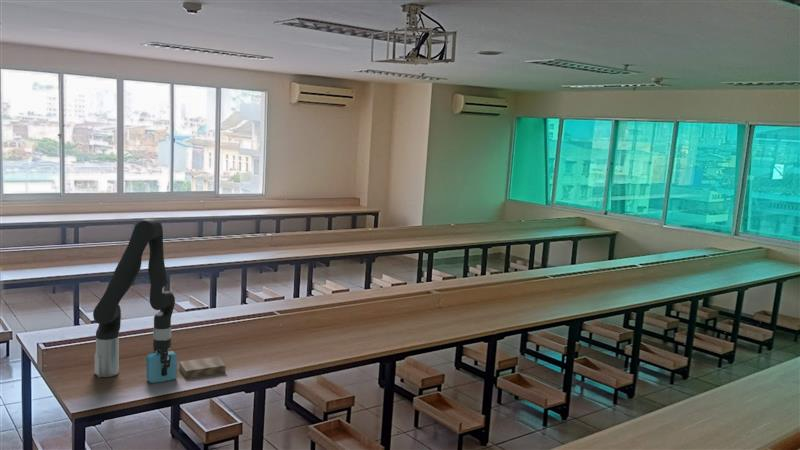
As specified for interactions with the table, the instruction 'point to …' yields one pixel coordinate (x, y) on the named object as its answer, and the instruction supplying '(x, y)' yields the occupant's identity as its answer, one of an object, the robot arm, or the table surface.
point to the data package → (156, 368)
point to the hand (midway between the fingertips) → (161, 373)
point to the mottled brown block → (202, 367)
